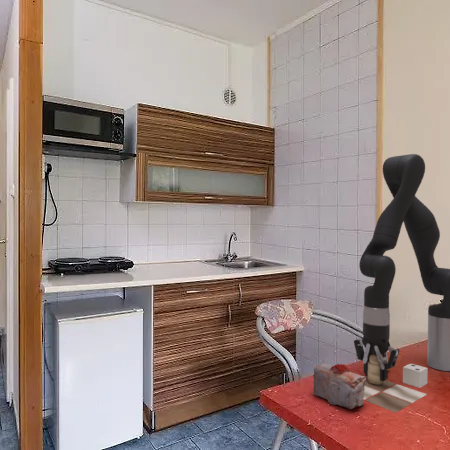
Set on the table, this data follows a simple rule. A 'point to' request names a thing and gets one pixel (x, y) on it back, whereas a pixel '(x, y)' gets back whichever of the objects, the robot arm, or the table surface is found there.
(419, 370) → the die
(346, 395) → the food item
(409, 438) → the table surface
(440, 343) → the robot arm
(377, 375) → the pawn
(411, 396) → the game mat
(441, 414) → the table surface
